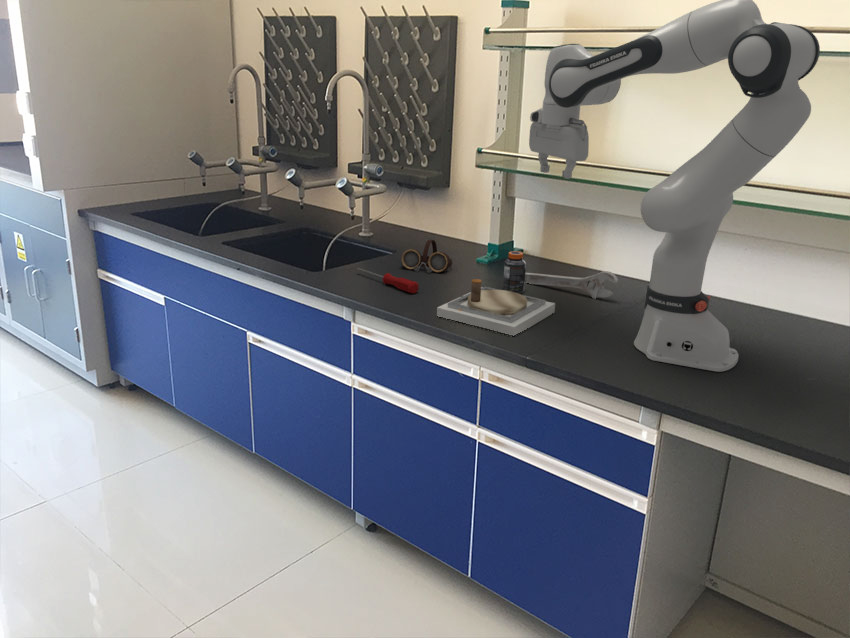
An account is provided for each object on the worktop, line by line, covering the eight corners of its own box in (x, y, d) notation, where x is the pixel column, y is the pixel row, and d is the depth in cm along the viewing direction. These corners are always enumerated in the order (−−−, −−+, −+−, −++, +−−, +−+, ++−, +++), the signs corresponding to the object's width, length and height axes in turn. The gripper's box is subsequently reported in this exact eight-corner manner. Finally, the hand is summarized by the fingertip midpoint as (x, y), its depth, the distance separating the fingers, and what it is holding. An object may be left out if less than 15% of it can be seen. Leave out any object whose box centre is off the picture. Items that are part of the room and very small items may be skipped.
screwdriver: (362, 273, 216) (362, 261, 215) (419, 293, 199) (420, 281, 198) (353, 275, 214) (353, 263, 213) (410, 295, 197) (410, 283, 196)
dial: (511, 293, 192) (513, 268, 189) (536, 311, 178) (539, 285, 176) (459, 297, 187) (460, 272, 185) (481, 316, 174) (482, 290, 172)
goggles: (398, 269, 219) (401, 237, 218) (411, 268, 232) (414, 237, 231) (446, 275, 215) (449, 241, 214) (457, 273, 228) (460, 241, 226)
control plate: (554, 312, 186) (555, 299, 185) (513, 336, 169) (514, 323, 168) (481, 295, 198) (482, 283, 197) (436, 316, 181) (437, 303, 180)
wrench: (522, 290, 213) (618, 300, 195) (518, 291, 212) (615, 302, 194) (521, 263, 211) (618, 271, 193) (518, 265, 210) (615, 273, 192)
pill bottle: (526, 290, 204) (529, 251, 200) (520, 295, 199) (523, 256, 195) (506, 287, 206) (509, 248, 202) (499, 292, 201) (502, 253, 197)
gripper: (598, 120, 164) (591, 181, 168) (547, 113, 181) (543, 168, 186) (575, 120, 161) (569, 182, 166) (526, 113, 178) (522, 169, 183)
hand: (555, 175), depth 176 cm, fingers open, 8 cm apart
